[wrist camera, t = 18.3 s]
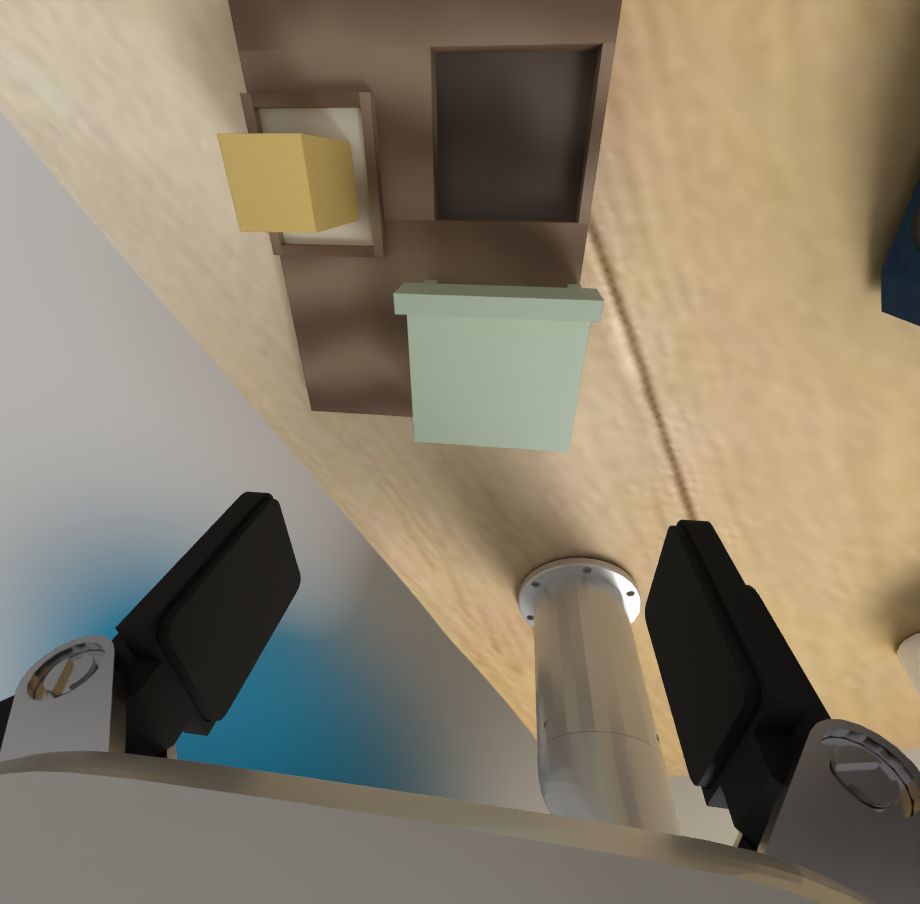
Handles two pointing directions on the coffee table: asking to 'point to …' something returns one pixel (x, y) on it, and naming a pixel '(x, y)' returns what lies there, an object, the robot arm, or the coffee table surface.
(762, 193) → the coffee table surface
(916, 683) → the cup
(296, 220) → the block
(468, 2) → the puzzle board
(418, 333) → the cover
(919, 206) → the radio
